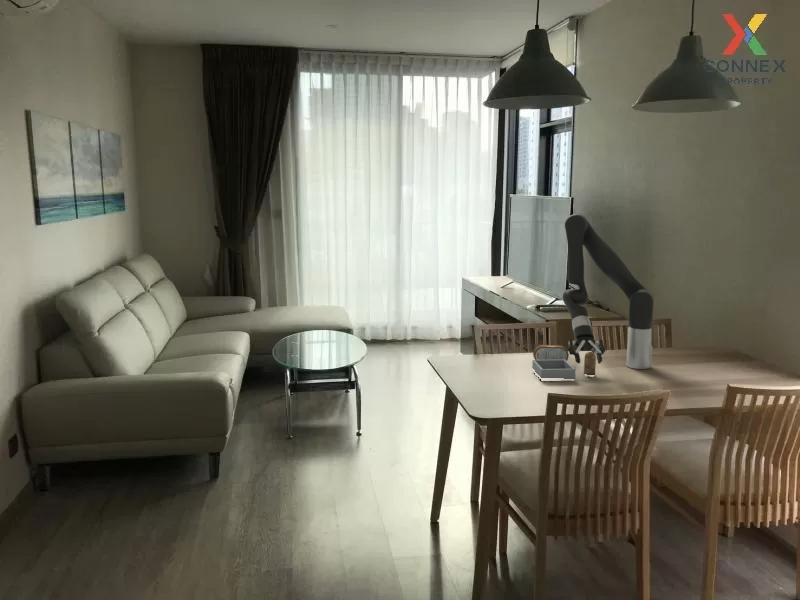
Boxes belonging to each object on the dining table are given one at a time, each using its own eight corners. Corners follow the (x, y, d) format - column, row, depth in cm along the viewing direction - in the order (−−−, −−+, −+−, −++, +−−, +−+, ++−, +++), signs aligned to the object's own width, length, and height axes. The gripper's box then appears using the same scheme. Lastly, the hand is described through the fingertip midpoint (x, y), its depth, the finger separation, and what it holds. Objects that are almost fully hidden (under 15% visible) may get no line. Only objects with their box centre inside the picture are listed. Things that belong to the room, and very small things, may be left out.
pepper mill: (592, 374, 261) (594, 350, 259) (596, 377, 257) (597, 353, 255) (582, 374, 261) (583, 350, 259) (585, 377, 257) (586, 353, 255)
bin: (564, 371, 266) (564, 359, 265) (574, 381, 252) (575, 369, 251) (532, 371, 265) (532, 359, 265) (540, 381, 251) (541, 369, 250)
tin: (567, 363, 278) (568, 344, 276) (568, 365, 275) (569, 346, 273) (532, 362, 279) (533, 344, 278) (533, 364, 276) (534, 345, 275)
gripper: (567, 324, 264) (574, 358, 254) (601, 324, 264) (609, 358, 255) (563, 333, 270) (570, 367, 261) (596, 333, 270) (604, 367, 261)
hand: (589, 362), depth 258 cm, fingers open, 8 cm apart
